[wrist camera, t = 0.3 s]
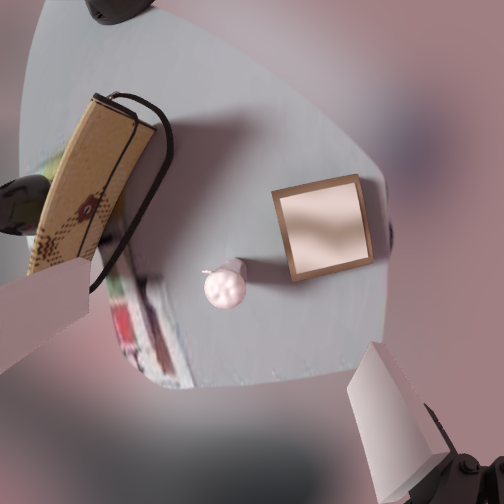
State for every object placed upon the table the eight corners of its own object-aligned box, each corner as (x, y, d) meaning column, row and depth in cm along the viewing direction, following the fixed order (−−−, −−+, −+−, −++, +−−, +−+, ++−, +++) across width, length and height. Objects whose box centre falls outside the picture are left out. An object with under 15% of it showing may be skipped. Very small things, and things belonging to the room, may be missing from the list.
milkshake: (236, 241, 36) (222, 258, 27) (258, 274, 37) (252, 302, 27) (209, 259, 37) (186, 282, 27) (231, 291, 38) (216, 323, 28)
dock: (271, 192, 35) (271, 191, 30) (349, 175, 33) (358, 173, 29) (290, 273, 37) (292, 283, 32) (364, 255, 35) (374, 263, 31)
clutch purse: (106, 297, 40) (49, 336, 26) (78, 273, 40) (17, 302, 25) (193, 129, 34) (145, 94, 19) (156, 109, 33) (98, 74, 19)
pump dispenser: (30, 186, 37) (-30, 191, 23) (63, 165, 36) (-4, 163, 21) (40, 237, 39) (-20, 254, 25) (73, 222, 38) (5, 238, 23)
